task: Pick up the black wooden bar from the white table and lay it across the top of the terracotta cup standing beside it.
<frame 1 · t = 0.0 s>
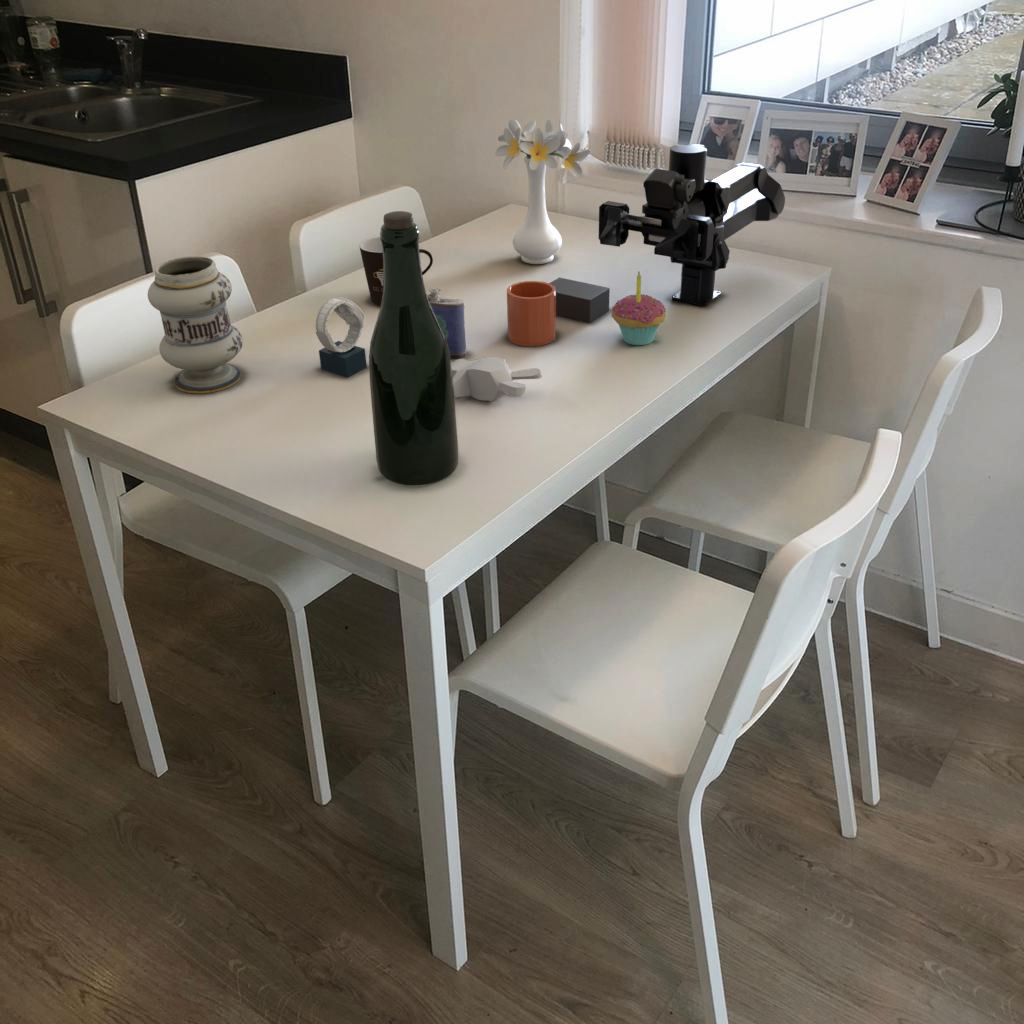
hand: (627, 245, 160), 17 cm above the table, tool horizontal, fingers open, 9 cm apart
flask: (438, 354, 169), on the table
apothecary jar: (208, 380, 163), on the table
coffee mug: (397, 301, 188), on the table
watch: (344, 369, 165), on the table
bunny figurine: (486, 395, 156), on the table
flower vase: (541, 260, 205), on the table
cupcake: (637, 340, 171), on the table
green wine bottle: (418, 469, 138), on the table
terracotta cup: (531, 336, 173), on the table
black bar: (574, 310, 182), on the table
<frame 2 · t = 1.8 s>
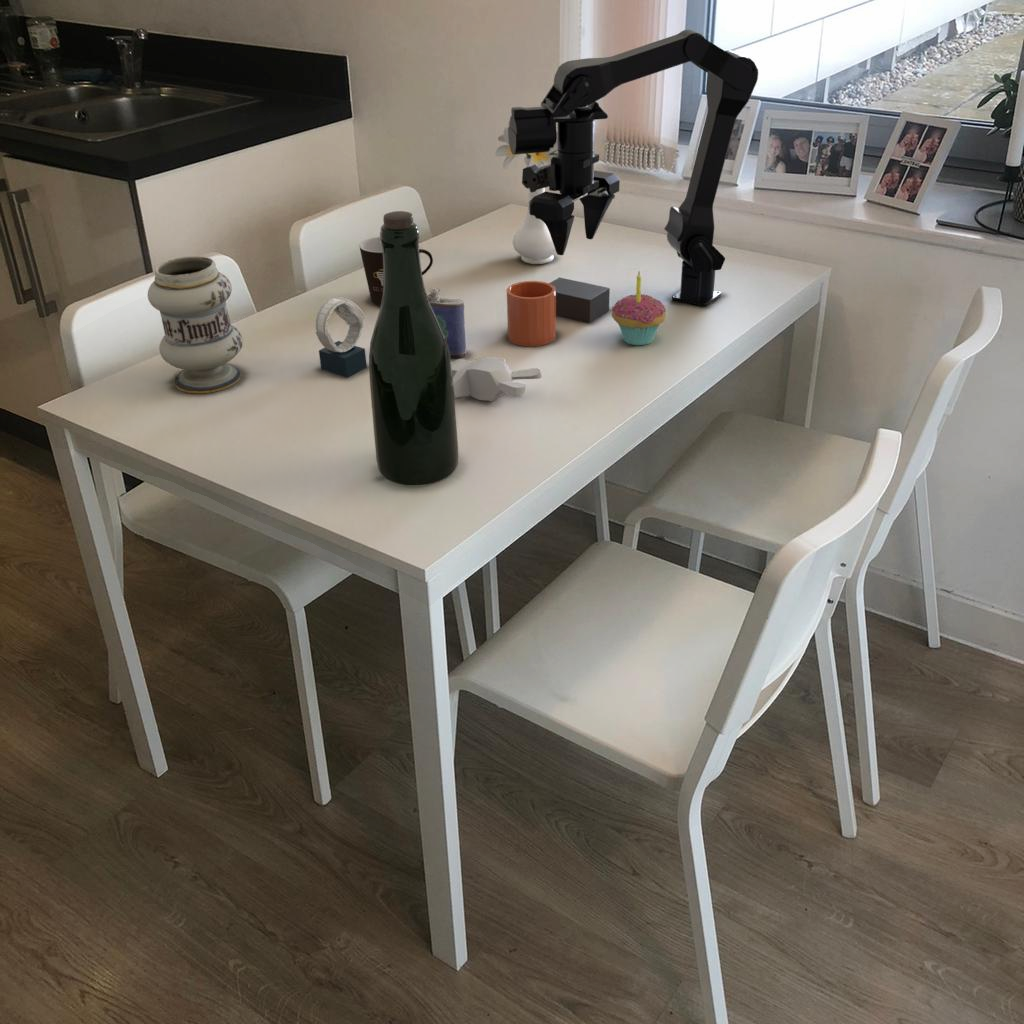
hand: (575, 246, 176), 11 cm above the table, tool pointing down, fingers open, 9 cm apart
nothing on the table moved.
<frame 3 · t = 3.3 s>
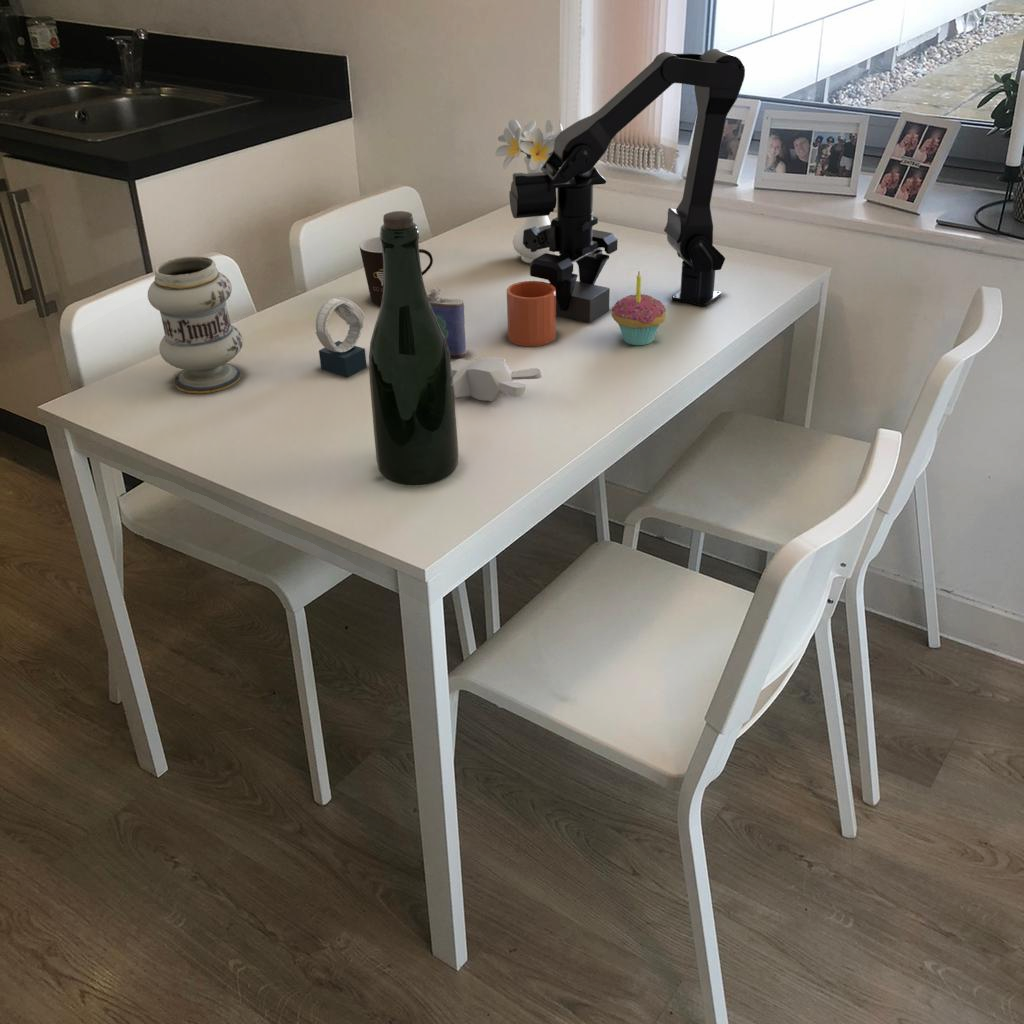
hand: (574, 303, 182), 1 cm above the table, tool pointing down, fingers closed on black bar, 6 cm apart
black bar: (574, 310, 182), on the table, touching gripper
everything else where it was.
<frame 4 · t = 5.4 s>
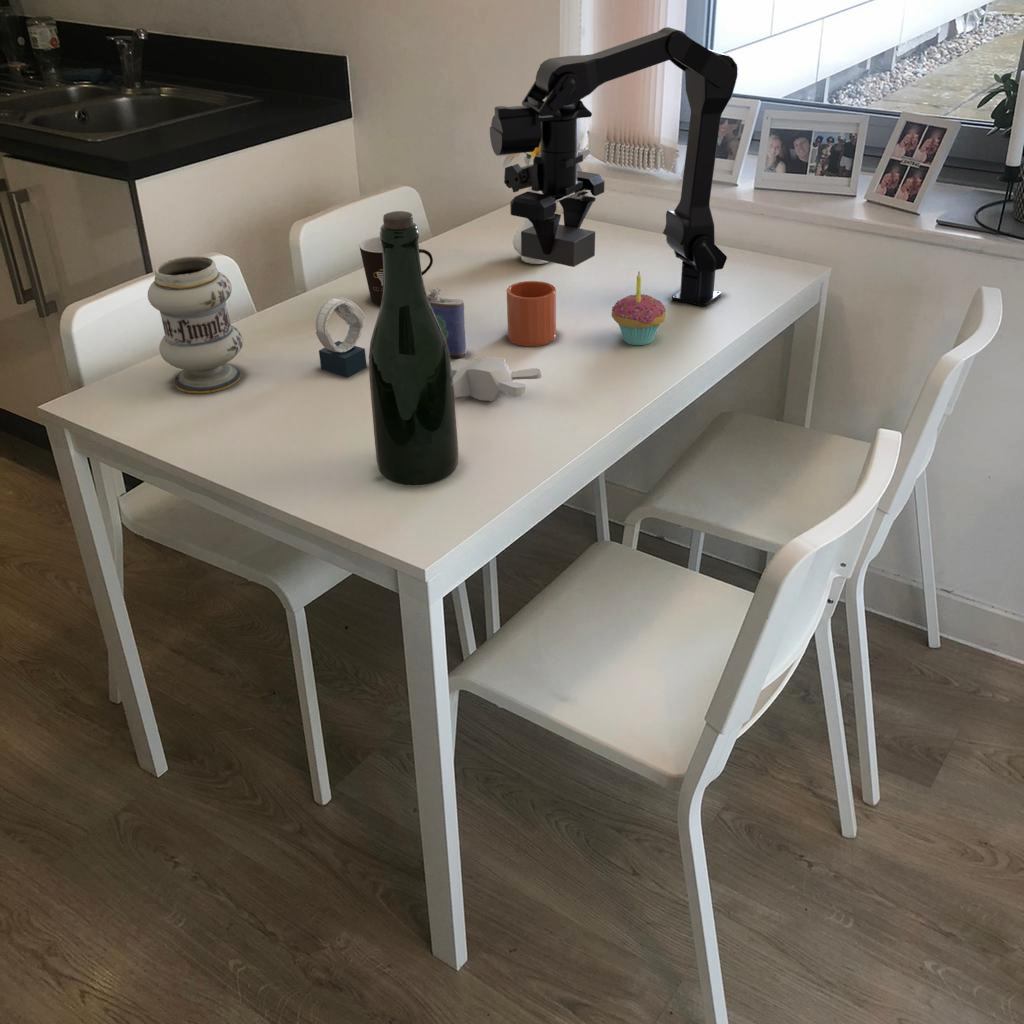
hand: (558, 248, 172), 12 cm above the table, tool pointing down, fingers closed on black bar, 6 cm apart
black bar: (557, 255, 173), point 11 cm above the table, touching gripper
everything else where it was.
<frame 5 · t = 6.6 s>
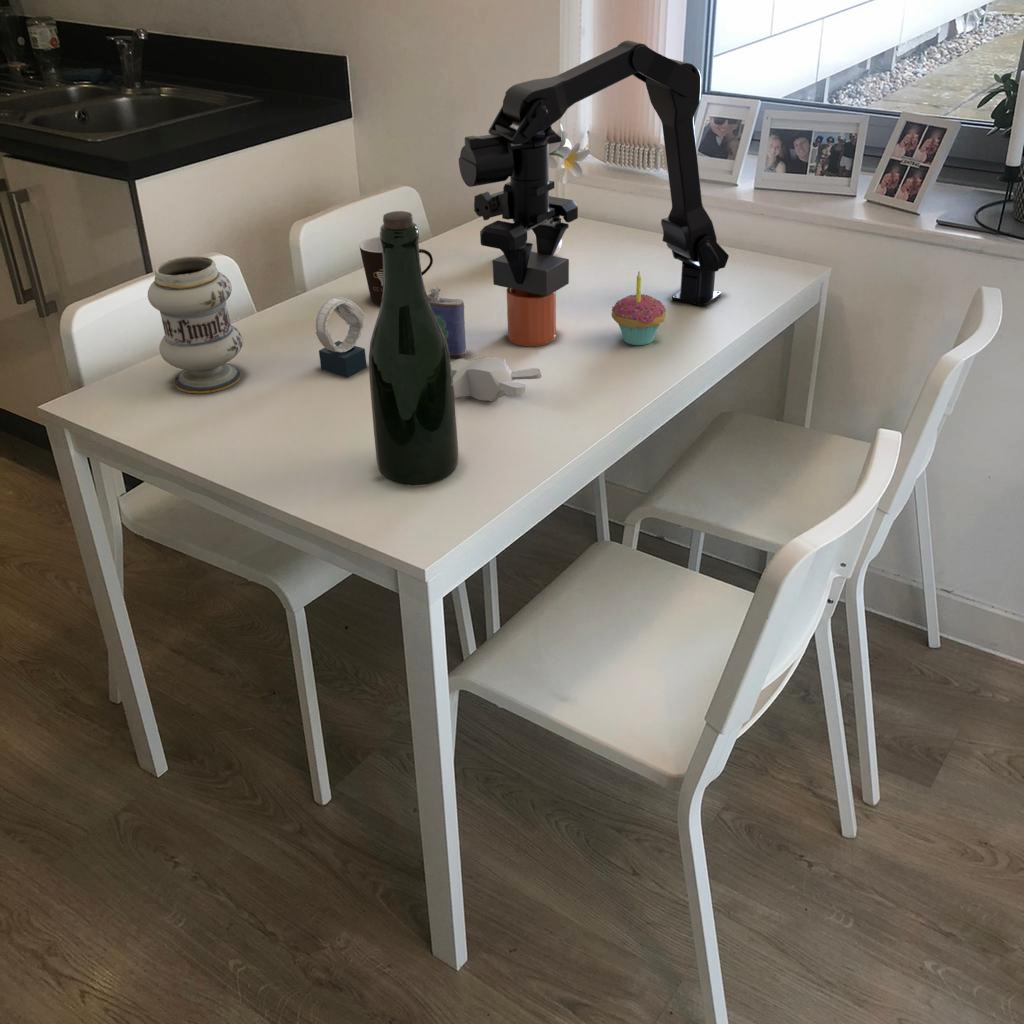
hand: (531, 276, 168), 10 cm above the table, tool pointing down, fingers closed on black bar, 6 cm apart
black bar: (531, 284, 169), point 9 cm above the table, touching gripper
everything else where it was.
when the fingers open (9 cm above the table, at t = 7.4 s): black bar stays where it is, resting on terracotta cup.
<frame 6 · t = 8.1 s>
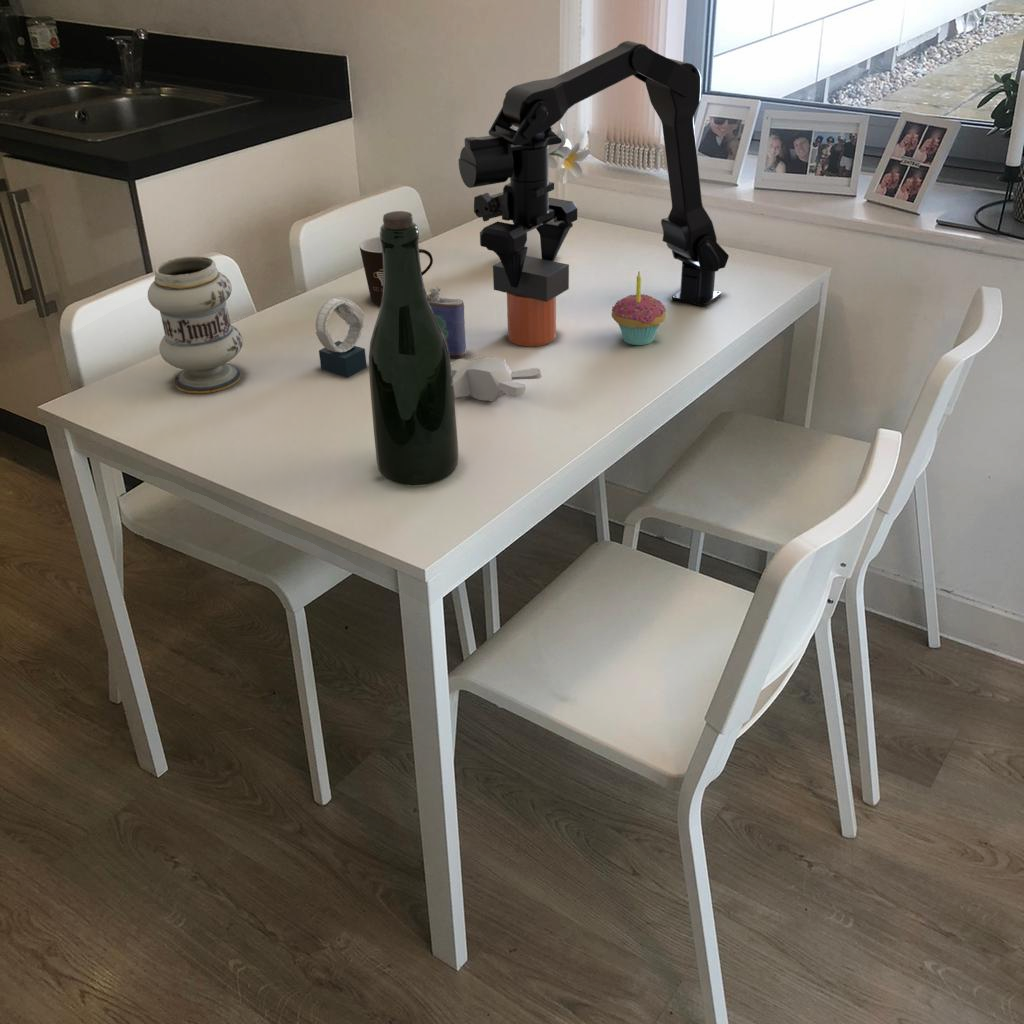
hand: (530, 278, 168), 10 cm above the table, tool pointing down, fingers open, 9 cm apart
terracotta cup: (531, 336, 173), on the table, touching black bar
black bar: (531, 289, 169), point 8 cm above the table, touching terracotta cup
everything else where it was.
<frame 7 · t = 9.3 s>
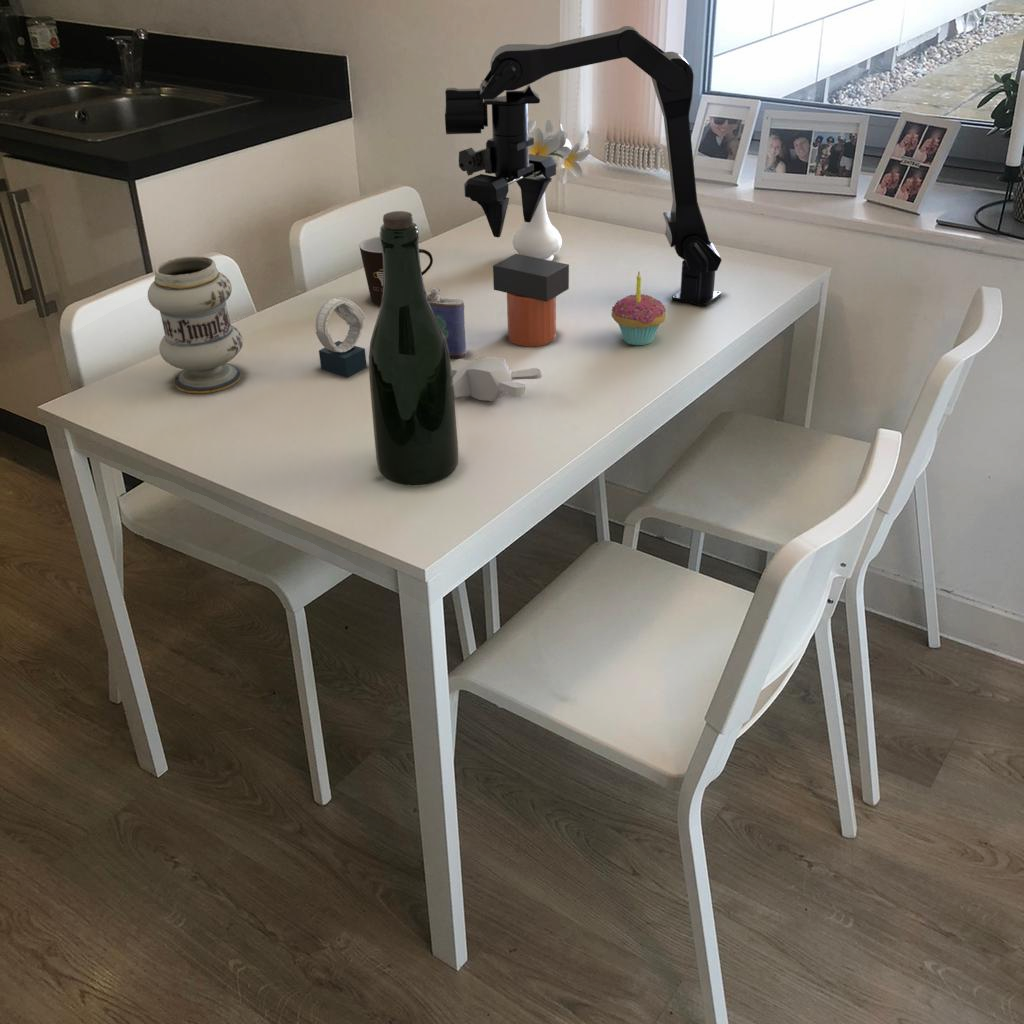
hand: (512, 229, 179), 13 cm above the table, tool pointing down, fingers open, 9 cm apart
nothing on the table moved.
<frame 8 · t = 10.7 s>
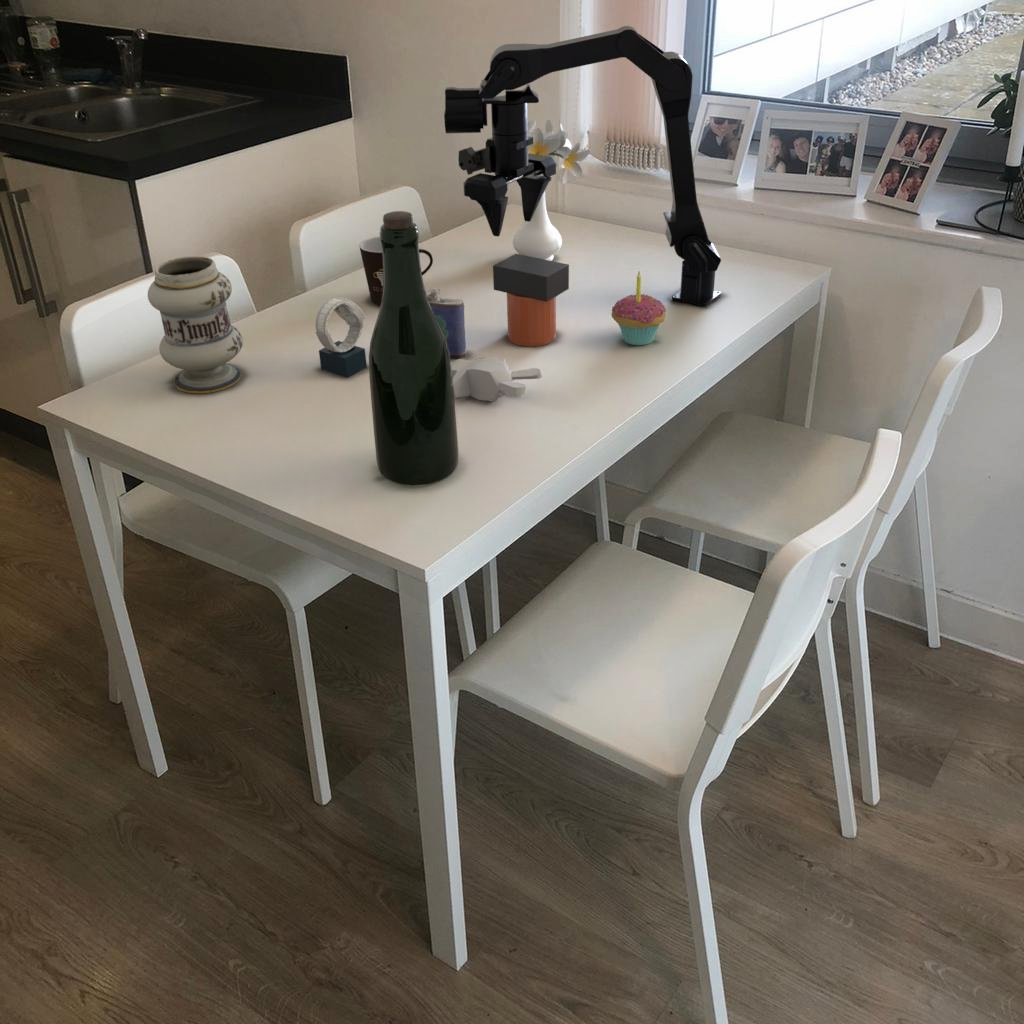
hand: (512, 228, 179), 13 cm above the table, tool pointing down, fingers open, 9 cm apart
nothing on the table moved.
at the end: black bar 0.0 cm off-centre on the terracotta cup, point 8.0 cm above the terracotta cup's base; black bar tilted 0°; the gripper is holding nothing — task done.
